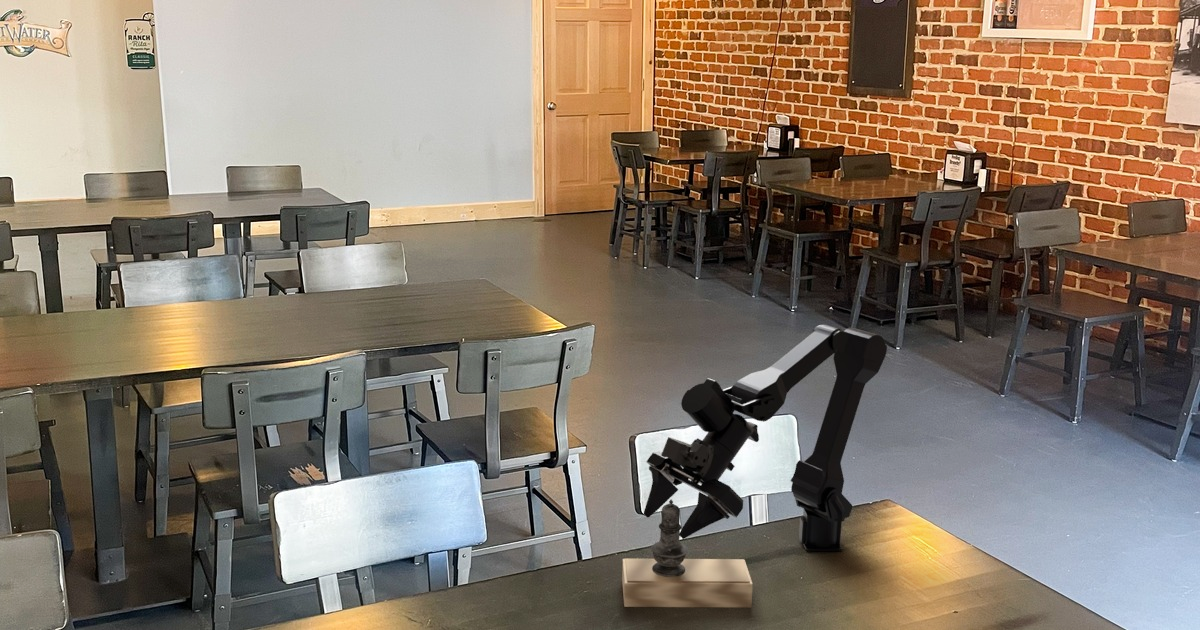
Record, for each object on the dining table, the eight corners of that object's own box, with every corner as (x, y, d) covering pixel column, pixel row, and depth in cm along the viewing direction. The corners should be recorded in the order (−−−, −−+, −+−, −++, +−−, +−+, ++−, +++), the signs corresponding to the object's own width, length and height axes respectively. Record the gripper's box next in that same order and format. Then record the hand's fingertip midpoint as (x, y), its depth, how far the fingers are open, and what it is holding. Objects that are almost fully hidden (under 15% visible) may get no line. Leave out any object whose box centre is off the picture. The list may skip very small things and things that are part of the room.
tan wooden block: (743, 581, 177) (744, 558, 176) (751, 607, 169) (752, 582, 168) (622, 581, 177) (622, 557, 176) (624, 606, 168) (624, 581, 167)
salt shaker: (660, 557, 176) (663, 489, 173) (693, 566, 173) (696, 497, 170) (643, 572, 171) (645, 501, 168) (676, 581, 168) (679, 509, 165)
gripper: (657, 403, 176) (600, 480, 172) (732, 437, 161) (671, 521, 157) (693, 440, 182) (638, 515, 178) (768, 475, 167) (711, 558, 163)
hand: (663, 526), depth 169 cm, fingers open, 9 cm apart
